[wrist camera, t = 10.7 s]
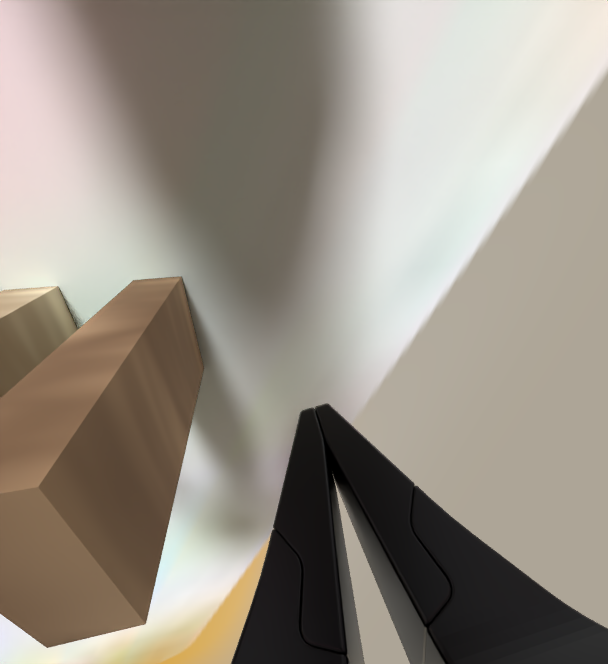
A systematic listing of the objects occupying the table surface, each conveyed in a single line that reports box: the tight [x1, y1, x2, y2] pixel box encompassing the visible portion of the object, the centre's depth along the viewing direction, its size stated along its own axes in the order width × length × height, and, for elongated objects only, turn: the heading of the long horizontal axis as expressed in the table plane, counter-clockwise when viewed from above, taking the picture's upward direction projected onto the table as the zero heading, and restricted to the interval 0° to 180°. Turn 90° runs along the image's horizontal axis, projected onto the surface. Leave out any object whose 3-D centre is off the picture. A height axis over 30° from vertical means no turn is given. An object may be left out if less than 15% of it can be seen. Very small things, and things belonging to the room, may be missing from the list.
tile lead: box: [0, 277, 204, 648], centre depth 9 cm, size 2×5×10 cm, turn 2°
